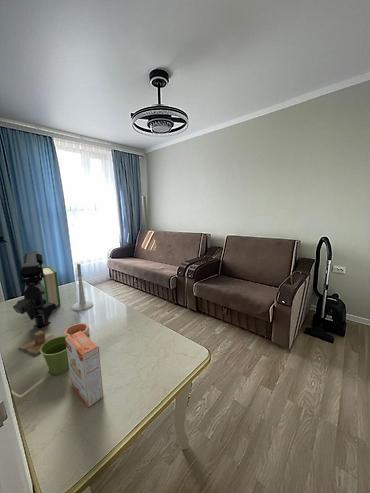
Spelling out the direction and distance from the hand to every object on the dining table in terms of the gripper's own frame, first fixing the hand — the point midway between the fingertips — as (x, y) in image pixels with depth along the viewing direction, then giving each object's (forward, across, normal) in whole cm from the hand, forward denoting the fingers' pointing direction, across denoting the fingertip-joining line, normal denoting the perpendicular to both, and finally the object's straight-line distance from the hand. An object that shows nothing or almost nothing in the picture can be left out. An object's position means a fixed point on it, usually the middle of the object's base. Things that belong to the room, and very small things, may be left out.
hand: (38, 321), depth 99 cm
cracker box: (+12, +40, -12) cm, 44 cm away
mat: (+12, 0, 0) cm, 12 cm away
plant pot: (+12, +22, -8) cm, 26 cm away
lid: (+12, 0, 0) cm, 12 cm away
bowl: (+12, +11, +11) cm, 20 cm away
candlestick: (+13, -12, +36) cm, 40 cm away
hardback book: (+13, -36, +32) cm, 50 cm away
